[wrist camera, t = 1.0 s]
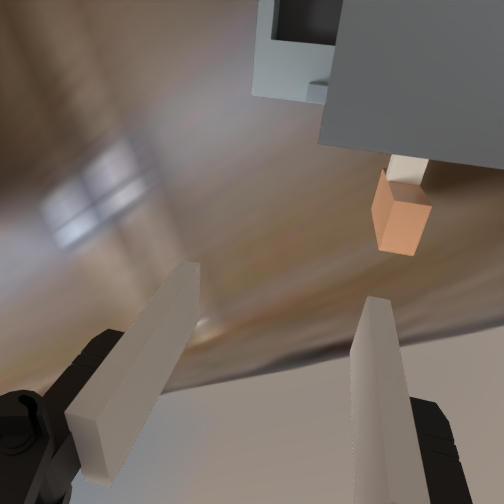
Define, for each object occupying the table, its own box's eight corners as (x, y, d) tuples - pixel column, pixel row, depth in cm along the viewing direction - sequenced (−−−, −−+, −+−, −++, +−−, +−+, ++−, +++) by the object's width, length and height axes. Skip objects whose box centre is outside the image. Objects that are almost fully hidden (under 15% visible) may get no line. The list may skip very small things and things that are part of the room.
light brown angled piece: (331, 202, 27) (328, 241, 22) (415, -192, 17) (451, -309, 11) (440, 220, 26) (467, 265, 21) (602, -192, 16) (742, -321, 10)
